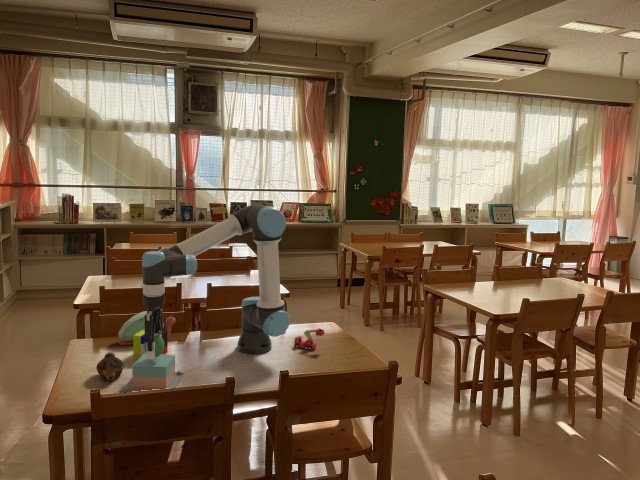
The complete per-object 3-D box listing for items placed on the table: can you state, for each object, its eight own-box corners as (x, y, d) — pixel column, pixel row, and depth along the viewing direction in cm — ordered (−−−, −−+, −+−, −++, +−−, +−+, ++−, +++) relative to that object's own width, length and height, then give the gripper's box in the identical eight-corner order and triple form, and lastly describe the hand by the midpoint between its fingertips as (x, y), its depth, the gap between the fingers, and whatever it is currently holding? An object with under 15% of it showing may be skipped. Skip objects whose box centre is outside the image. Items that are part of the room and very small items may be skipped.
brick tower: (185, 374, 205) (185, 352, 204) (172, 394, 187) (172, 370, 186) (138, 372, 205) (138, 350, 204) (121, 392, 187) (120, 368, 186)
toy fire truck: (296, 344, 242) (296, 324, 240) (324, 349, 237) (324, 329, 235) (293, 347, 239) (293, 326, 237) (321, 352, 234) (322, 331, 232)
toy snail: (119, 347, 231) (118, 316, 229) (117, 341, 238) (116, 311, 236) (177, 340, 242) (177, 311, 240) (174, 335, 249) (174, 306, 247)
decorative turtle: (120, 367, 209) (121, 348, 207) (126, 385, 196) (127, 364, 194) (93, 370, 204) (94, 350, 203) (97, 388, 191) (98, 367, 190)
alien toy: (164, 352, 199) (164, 326, 198) (164, 359, 192) (164, 333, 190) (144, 353, 197) (144, 327, 196) (143, 361, 190) (143, 334, 188)
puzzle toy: (155, 361, 217) (155, 337, 215) (133, 358, 219) (133, 335, 217) (167, 352, 227) (167, 330, 225) (146, 350, 229) (145, 328, 227)
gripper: (152, 287, 201) (153, 344, 205) (133, 301, 181) (134, 365, 184) (172, 287, 201) (172, 345, 205) (155, 302, 181) (156, 365, 184)
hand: (154, 354), depth 195 cm, fingers closed on alien toy, 8 cm apart
